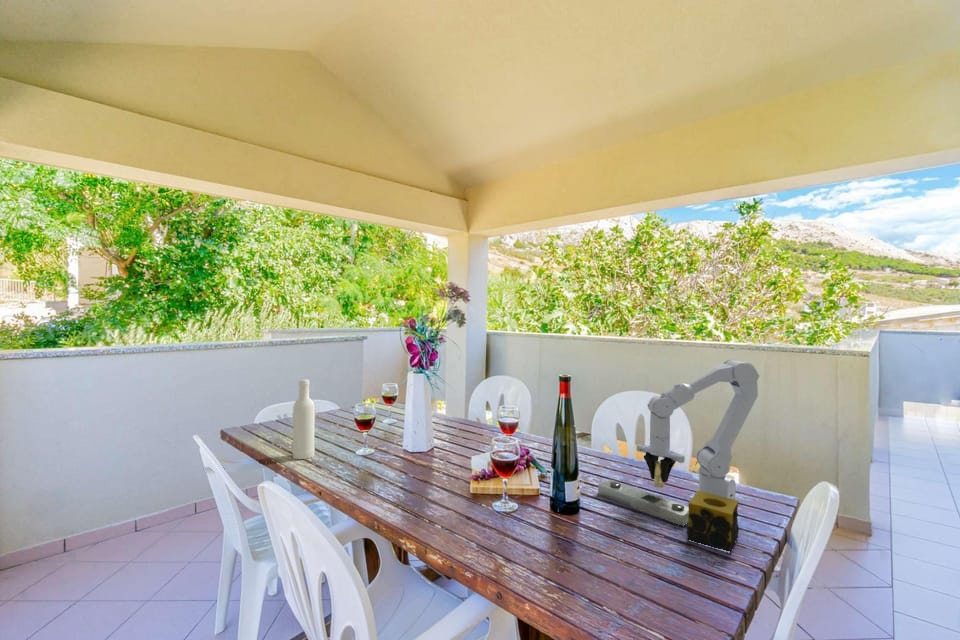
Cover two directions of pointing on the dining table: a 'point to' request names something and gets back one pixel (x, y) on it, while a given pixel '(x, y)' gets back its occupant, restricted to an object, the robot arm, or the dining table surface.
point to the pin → (658, 474)
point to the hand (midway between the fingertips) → (659, 479)
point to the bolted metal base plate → (645, 501)
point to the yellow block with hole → (713, 520)
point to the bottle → (303, 423)
